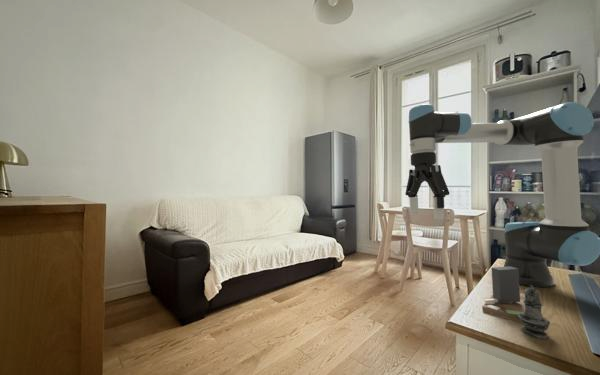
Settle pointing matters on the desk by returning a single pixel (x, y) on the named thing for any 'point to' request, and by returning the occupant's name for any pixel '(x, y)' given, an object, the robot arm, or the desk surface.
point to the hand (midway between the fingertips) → (425, 217)
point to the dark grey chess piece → (533, 315)
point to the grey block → (505, 285)
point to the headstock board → (506, 308)
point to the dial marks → (506, 310)
